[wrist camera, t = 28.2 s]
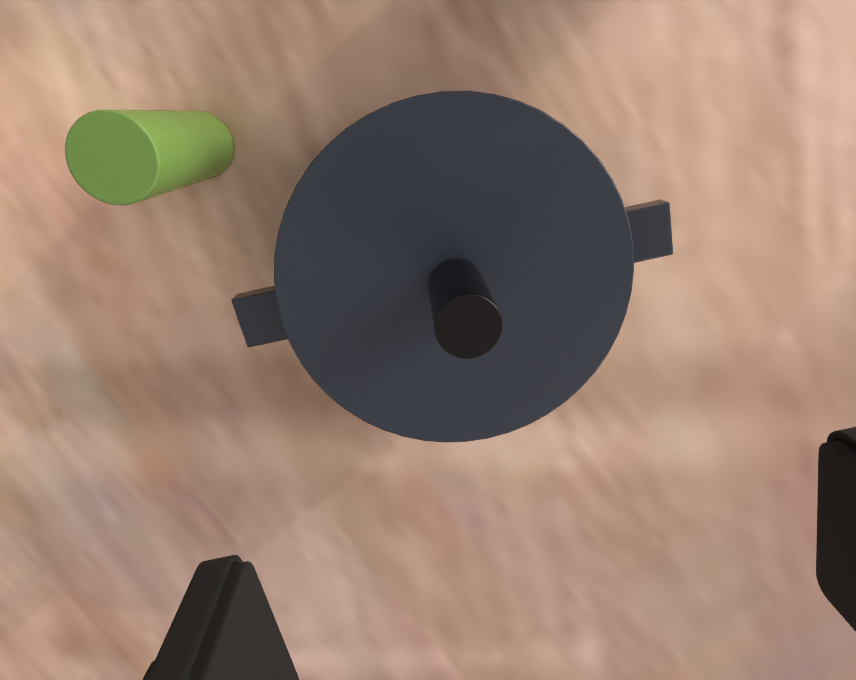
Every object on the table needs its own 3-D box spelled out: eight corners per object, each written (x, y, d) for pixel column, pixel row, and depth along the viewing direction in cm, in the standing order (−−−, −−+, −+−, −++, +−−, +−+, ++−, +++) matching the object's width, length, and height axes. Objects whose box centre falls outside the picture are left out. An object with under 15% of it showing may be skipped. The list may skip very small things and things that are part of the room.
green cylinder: (159, 118, 30) (47, 121, 20) (222, 104, 30) (138, 100, 20) (182, 183, 31) (86, 214, 21) (242, 170, 31) (172, 194, 21)
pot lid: (230, 139, 25) (172, 148, 18) (606, 51, 24) (676, 30, 18) (332, 459, 30) (314, 548, 24) (640, 394, 29) (703, 469, 23)
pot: (221, 154, 30) (176, 164, 24) (612, 63, 30) (666, 50, 23) (304, 405, 35) (283, 466, 29) (638, 333, 35) (688, 380, 29)
